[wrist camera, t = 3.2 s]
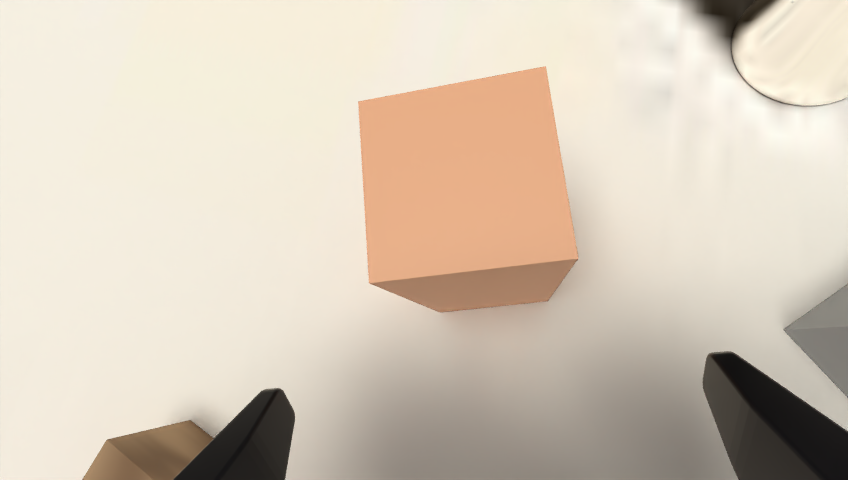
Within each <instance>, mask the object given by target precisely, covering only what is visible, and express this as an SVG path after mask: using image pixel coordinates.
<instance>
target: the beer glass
mask: <svg viewBox="0 0 848 480" xmlns="http://www.w3.org/2000/svg"><path fill="white" fill-rule="evenodd" d="M731 47H732V56H733V60H734V63H735V65H736V67H737V69H738V71H739V73H740V74H741V75H742V77H743V78H744V79H745V80H746V81H747V82H748V83H749V84H750V85H751V86H752V87H753V88H755V89H756V90H757V91H759V92H760V93H762V94H764V95H765V96H767V97H769V98H772V99H774V100H777V101H780V102H783V103H787V104H792V105H800V106H817V105H825V104H830V103H834V102H837V101H840V100H842V99H845V98H847V97H848V0H755V1H754V2H753V3H752V4H751V5H750V6H749V7H748V9H747V10H746V11H745V12H744V13H743V15H742V16H741V18H740V19H739V21H738V23H737V25H736V27H735V30H734V33H733V37H732V46H731Z"/></svg>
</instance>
